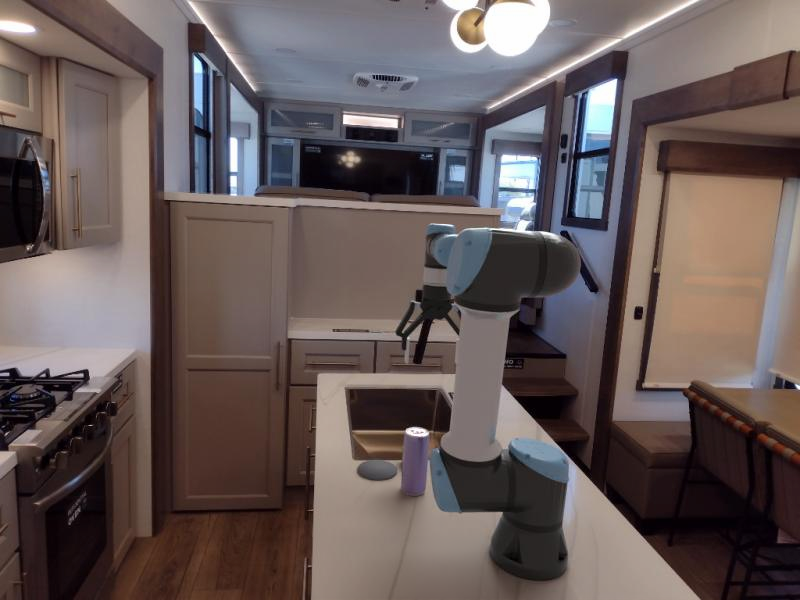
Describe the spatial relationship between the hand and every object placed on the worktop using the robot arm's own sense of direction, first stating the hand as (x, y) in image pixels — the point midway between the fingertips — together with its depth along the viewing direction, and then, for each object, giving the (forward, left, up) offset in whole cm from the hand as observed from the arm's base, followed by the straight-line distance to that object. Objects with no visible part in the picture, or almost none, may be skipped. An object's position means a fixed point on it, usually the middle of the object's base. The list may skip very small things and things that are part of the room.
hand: (431, 363), depth 154 cm
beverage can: (-19, +6, -27) cm, 33 cm away
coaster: (-9, +14, -26) cm, 31 cm away
